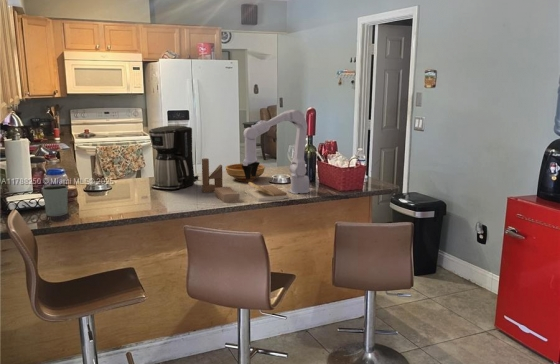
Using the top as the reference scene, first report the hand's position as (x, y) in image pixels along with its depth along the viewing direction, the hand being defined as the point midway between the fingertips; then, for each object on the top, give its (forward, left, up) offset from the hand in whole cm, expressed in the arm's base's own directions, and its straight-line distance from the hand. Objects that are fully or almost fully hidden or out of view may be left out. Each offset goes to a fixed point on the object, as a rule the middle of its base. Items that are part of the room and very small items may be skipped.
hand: (250, 177), depth 237 cm
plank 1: (-4, -2, -6) cm, 8 cm away
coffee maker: (+29, -39, -10) cm, 49 cm away
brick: (+13, +1, -10) cm, 17 cm away
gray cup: (+91, +1, -10) cm, 92 cm away
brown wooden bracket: (+16, -18, -10) cm, 26 cm away
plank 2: (-4, +7, -6) cm, 10 cm away
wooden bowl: (-11, -42, -10) cm, 44 cm away
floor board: (-7, +2, -10) cm, 12 cm away
